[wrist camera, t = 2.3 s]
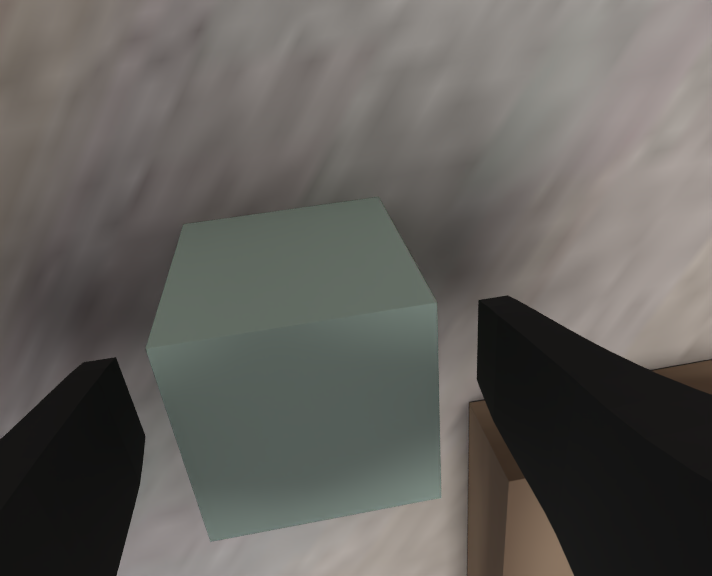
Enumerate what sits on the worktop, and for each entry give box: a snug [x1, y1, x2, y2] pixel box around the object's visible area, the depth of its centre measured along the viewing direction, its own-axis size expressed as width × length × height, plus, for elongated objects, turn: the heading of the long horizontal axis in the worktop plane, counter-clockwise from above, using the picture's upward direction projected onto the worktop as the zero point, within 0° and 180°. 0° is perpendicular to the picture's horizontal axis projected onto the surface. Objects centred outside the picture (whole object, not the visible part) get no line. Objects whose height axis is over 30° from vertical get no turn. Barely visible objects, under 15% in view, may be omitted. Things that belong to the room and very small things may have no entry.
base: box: [467, 360, 712, 576], centre depth 18 cm, size 11×11×3 cm
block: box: [146, 197, 441, 542], centre depth 12 cm, size 4×4×5 cm
